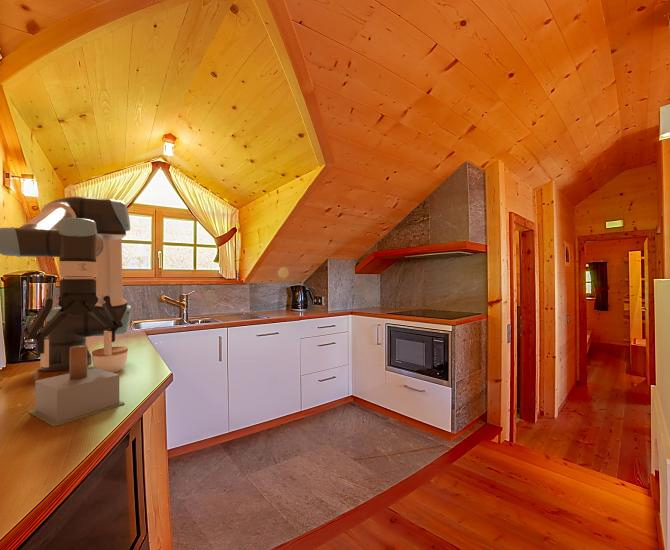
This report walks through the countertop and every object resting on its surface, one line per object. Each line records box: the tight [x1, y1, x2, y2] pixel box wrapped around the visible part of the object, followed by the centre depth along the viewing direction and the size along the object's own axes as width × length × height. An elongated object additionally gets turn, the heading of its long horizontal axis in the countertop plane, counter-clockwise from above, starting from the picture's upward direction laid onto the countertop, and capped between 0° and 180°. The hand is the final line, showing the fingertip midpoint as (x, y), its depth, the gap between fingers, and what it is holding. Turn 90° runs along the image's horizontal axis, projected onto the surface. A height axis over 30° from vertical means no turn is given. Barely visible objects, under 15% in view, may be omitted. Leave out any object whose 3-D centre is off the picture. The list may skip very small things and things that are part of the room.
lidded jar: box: [91, 346, 129, 373], centre depth 117 cm, size 11×11×9 cm
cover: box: [34, 344, 120, 423], centre depth 83 cm, size 13×13×16 cm
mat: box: [28, 400, 126, 428], centre depth 83 cm, size 15×15×1 cm
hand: (78, 360), depth 83 cm, fingers open, 13 cm apart
